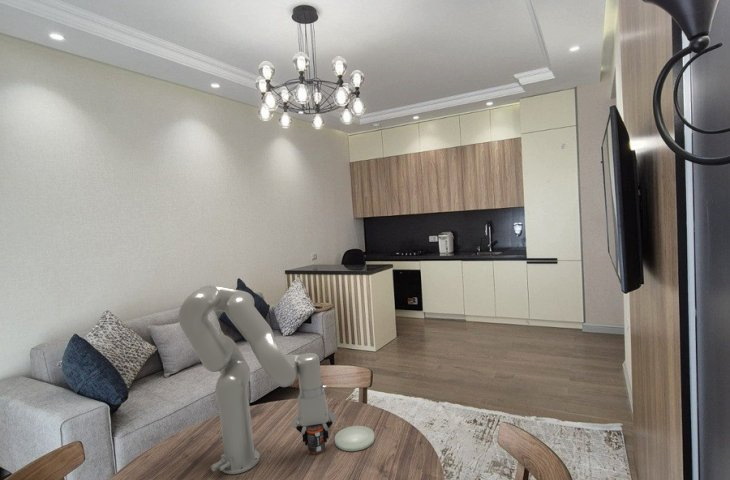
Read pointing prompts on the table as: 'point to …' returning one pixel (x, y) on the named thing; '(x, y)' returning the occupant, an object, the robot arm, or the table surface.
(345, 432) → the dish
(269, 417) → the table surface
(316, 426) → the supplement bottle
